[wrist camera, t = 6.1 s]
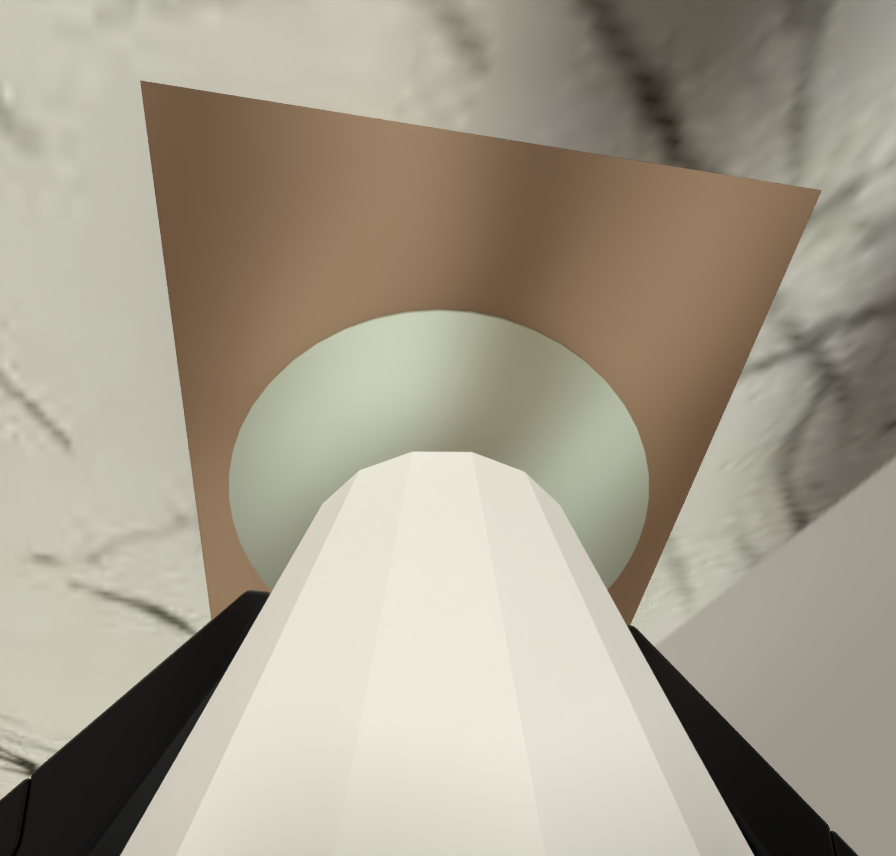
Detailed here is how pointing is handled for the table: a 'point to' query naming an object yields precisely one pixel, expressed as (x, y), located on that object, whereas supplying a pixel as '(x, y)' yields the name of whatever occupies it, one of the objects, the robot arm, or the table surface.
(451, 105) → the table surface
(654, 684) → the white cup
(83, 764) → the robot arm
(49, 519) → the table surface
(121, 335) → the table surface
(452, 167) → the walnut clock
